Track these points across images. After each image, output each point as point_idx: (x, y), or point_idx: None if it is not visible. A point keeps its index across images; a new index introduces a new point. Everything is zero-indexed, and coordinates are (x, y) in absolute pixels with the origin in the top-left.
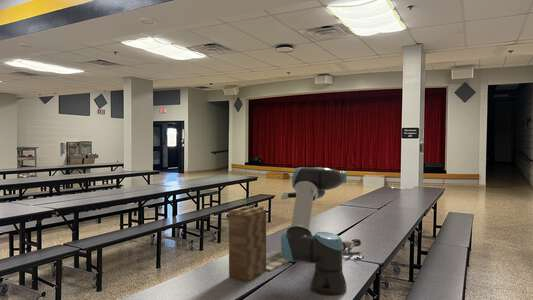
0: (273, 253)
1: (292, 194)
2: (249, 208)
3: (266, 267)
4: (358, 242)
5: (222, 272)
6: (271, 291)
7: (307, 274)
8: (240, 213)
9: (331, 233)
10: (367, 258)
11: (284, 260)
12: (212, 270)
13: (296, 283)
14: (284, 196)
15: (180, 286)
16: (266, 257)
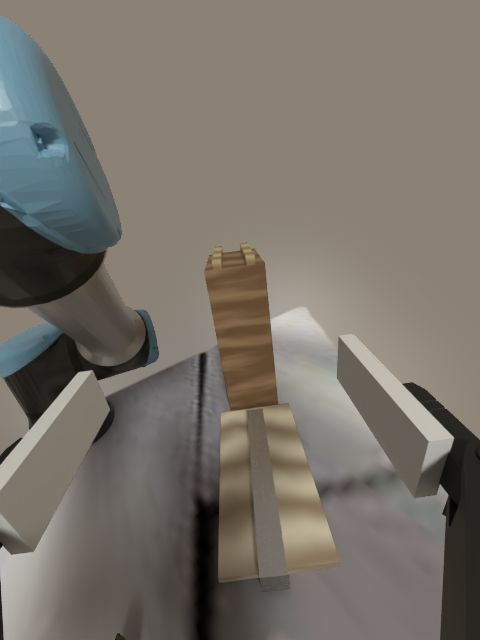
0: (261, 454)
1: (458, 591)
2: (244, 257)
3: (236, 414)
4: None
5: (294, 365)
6: (175, 372)
7: (131, 455)
8: (233, 253)
9: (14, 346)
10: None
11: (226, 481)
12: (315, 361)
13: (145, 409)
14: (360, 384)
15: (290, 325)
16: (253, 419)
